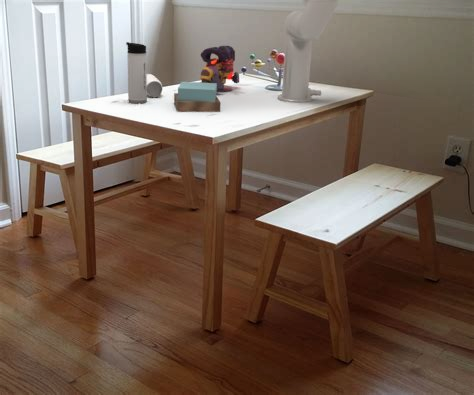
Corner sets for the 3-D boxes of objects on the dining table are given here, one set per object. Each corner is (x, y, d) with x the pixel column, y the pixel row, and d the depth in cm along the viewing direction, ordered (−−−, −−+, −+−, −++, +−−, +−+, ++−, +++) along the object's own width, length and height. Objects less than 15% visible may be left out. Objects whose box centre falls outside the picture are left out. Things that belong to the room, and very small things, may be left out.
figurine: (218, 97, 230) (220, 50, 224) (188, 91, 237) (188, 46, 231) (246, 89, 246) (248, 46, 240) (217, 84, 253) (218, 42, 247)
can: (138, 75, 231) (143, 81, 221) (155, 72, 233) (161, 78, 222) (141, 92, 234) (147, 99, 223) (158, 89, 235) (164, 96, 225)
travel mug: (125, 100, 218) (124, 41, 211) (144, 99, 220) (143, 41, 213) (129, 104, 213) (128, 43, 206) (148, 103, 215) (148, 43, 208)
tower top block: (216, 94, 216) (216, 83, 214) (214, 102, 205) (215, 89, 203) (181, 93, 216) (181, 81, 214) (177, 100, 205) (178, 88, 203)
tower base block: (214, 105, 219) (214, 93, 218) (220, 114, 206) (220, 102, 205) (174, 104, 217) (174, 93, 216) (177, 114, 204) (177, 101, 203)
